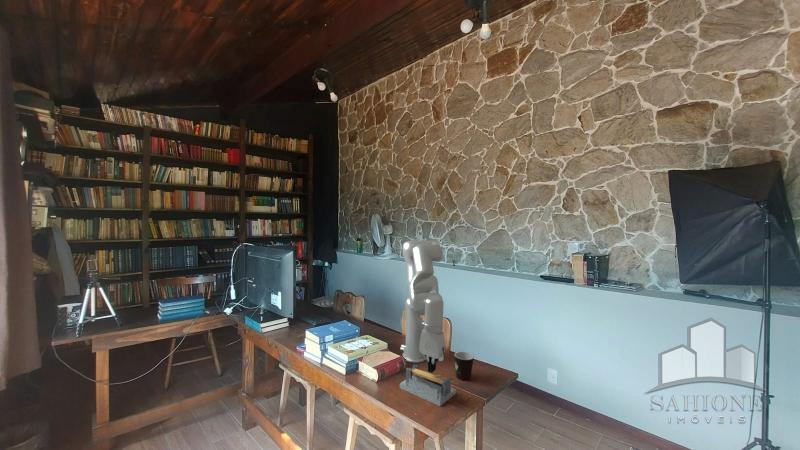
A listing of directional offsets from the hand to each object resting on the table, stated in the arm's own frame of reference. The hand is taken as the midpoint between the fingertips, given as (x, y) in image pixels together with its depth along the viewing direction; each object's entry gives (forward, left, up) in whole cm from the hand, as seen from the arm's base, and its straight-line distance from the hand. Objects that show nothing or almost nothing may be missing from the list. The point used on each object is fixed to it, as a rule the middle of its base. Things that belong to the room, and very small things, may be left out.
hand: (431, 371), depth 137 cm
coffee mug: (+3, +22, -9) cm, 24 cm away
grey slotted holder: (-2, 0, -9) cm, 9 cm away
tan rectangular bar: (-2, 0, -3) cm, 4 cm away
